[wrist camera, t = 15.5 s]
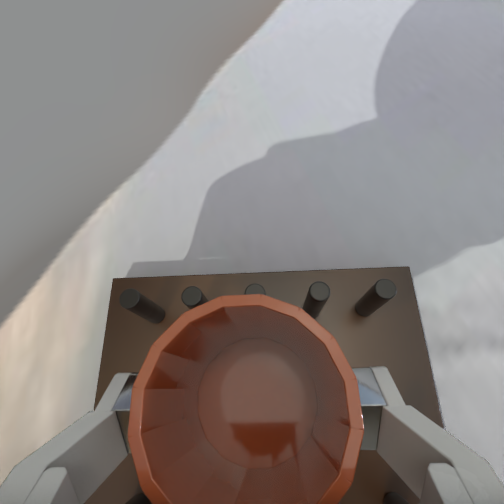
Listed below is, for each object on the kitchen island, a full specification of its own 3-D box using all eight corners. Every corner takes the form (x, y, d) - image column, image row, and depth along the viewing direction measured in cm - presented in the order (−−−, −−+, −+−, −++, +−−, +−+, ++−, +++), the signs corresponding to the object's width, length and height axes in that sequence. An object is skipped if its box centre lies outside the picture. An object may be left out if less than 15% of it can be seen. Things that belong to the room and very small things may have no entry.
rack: (402, 272, 21) (440, 237, 16) (461, 558, 15) (546, 637, 10) (121, 283, 22) (77, 254, 17) (83, 557, 16) (3, 628, 11)
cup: (315, 329, 16) (344, 289, 9) (330, 473, 14) (383, 554, 7) (195, 335, 16) (140, 299, 10) (190, 476, 14) (115, 557, 7)
